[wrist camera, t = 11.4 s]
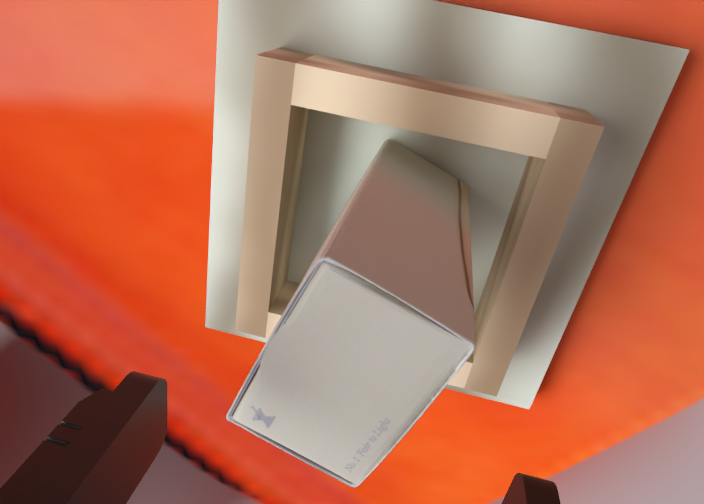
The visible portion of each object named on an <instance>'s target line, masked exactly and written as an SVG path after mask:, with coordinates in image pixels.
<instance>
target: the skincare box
mask: <svg viewBox="0 0 704 504" xmlns="http://www.w3.org/2000/svg"><path fill="white" fill-rule="evenodd" d="M475 347H476V341H475V320H474V298H473V274H472V255H471V229H470V208H469V189H468V186H467V185H465V184H464V183H462V182H461V181H459V180H458V179H456V178H454V177H453V176H451V175H450V174H448V173H446V172H445V171H443V170H442V169H440V168H438V167H437V166H435V165H434V164H432V163H430V162H429V161H427V160H425V159H424V158H422V157H420V156H419V155H417V154H415V153H414V152H412V151H410V150H409V149H407V148H405V147H404V146H402V145H400V144H399V143H397V142H395V141H393V140H391V139H387V140H386V141H384V143H383V144H382V146H381V147H380V149H379V151H378V152H377V154H376V155H375V157H374V159H373V160H372V162H371V164H370V165H369V167H368V168H367V170H366V172H365V173H364V175H363V177H362V178H361V180H360V182H359V183H358V185H357V187H356V188H355V190H354V192H353V193H352V195H351V197H350V198H349V200H348V202H347V203H346V205H345V207H344V209H343V210H342V212H341V214H340V215H339V217H338V219H337V221H336V222H335V224H334V226H333V228H332V229H331V231H330V233H329V235H328V236H327V238H326V240H325V242H324V243H323V245H322V247H321V248H320V250H319V252H318V253H317V255H316V257H315V258H314V260H313V262H312V264H311V265H310V267H309V269H308V271H307V272H306V274H305V276H304V278H303V280H302V281H301V283H300V285H299V287H298V288H297V290H296V292H295V294H294V295H293V297H292V299H291V301H290V302H289V304H288V306H287V307H286V309H285V311H284V313H283V314H282V316H281V318H280V319H279V321H278V323H277V325H276V326H275V328H274V330H273V332H272V333H271V335H270V337H269V338H268V340H267V342H266V344H265V346H264V347H263V349H262V351H261V353H260V355H259V356H258V358H257V360H256V362H255V363H254V365H253V367H252V369H251V371H250V372H249V374H248V376H247V378H246V380H245V382H244V384H243V386H242V387H241V389H240V391H239V393H238V395H237V397H236V399H235V400H234V402H233V404H232V406H231V408H230V409H229V411H228V413H227V416H226V418H227V420H228V421H230V422H232V423H234V424H236V425H238V426H240V427H242V428H244V429H245V430H247V431H249V432H251V433H253V434H254V435H256V436H258V437H260V438H262V439H264V440H265V441H267V442H269V443H271V444H273V445H274V446H276V447H278V448H280V449H282V450H283V451H285V452H287V453H289V454H291V455H293V456H294V457H297V458H298V459H300V460H302V461H304V462H305V463H307V464H309V465H311V466H313V467H315V468H316V469H319V470H321V471H323V472H325V473H326V474H328V475H330V476H332V477H334V478H336V479H338V480H339V481H341V482H343V483H345V484H347V485H349V486H351V487H357V486H358V485H360V484H361V483H362V482H363V481H364V480H365V479H366V478H367V477H368V476H369V475H370V473H371V472H372V471H373V470H374V469H375V468H376V467H377V466H378V465H379V464H380V463H381V462H382V461H383V459H384V458H385V457H386V456H387V455H388V454H389V453H390V452H391V450H392V449H393V448H394V447H395V446H396V445H397V444H398V442H399V441H400V440H401V439H402V438H403V437H404V436H405V434H406V433H407V432H408V431H409V430H410V429H411V427H412V426H413V425H414V424H415V422H416V421H417V420H418V419H419V418H420V417H421V416H422V415H423V413H424V412H425V411H426V410H427V408H428V407H429V406H430V405H431V403H432V402H433V401H434V400H435V399H436V397H437V396H438V395H439V394H440V393H441V391H442V390H443V389H444V388H445V386H446V385H447V384H448V383H449V381H450V380H451V379H452V378H453V377H454V375H455V374H456V373H457V372H458V371H459V369H460V368H461V367H462V366H463V364H464V363H465V362H466V360H467V359H468V358H469V356H470V355H471V354H472V353H473V351H474V350H475Z"/></svg>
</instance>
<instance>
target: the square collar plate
mask: <svg viewBox="0 0 704 504" xmlns="http://www.w3.org/2000/svg"><path fill="white" fill-rule="evenodd" d="M689 51H690V50H689V49H685V48H680V47H676V46H671V45H666V44H660V43H655V42H650V41H645V40H640V39H634V38H629V37H624V36H619V35H613V34H608V33H603V32H598V31H593V30H587V29H582V28H577V27H572V26H567V25H561V24H556V23H551V22H546V21H540V20H535V19H530V18H525V17H520V16H514V15H509V14H504V13H499V12H494V11H488V10H483V9H478V8H473V7H467V6H462V5H457V4H452V3H447V2H441V1H436V0H219V7H218V31H217V55H216V80H215V104H214V129H213V153H212V177H211V202H210V226H209V251H208V275H207V299H206V324H205V327H207V328H211V329H215V330H219V331H223V332H227V333H231V334H235V335H239V336H243V337H247V338H251V339H254V340H258V341H262V342H267V340H268V338H269V337H270V335H271V333H272V332H273V330H274V328H275V326H276V325H277V323H278V321H279V319H280V318H281V316H282V314H283V313H284V311H285V309H286V307H287V306H288V304H289V302H290V301H291V299H292V297H293V295H294V294H295V292H296V290H297V288H298V287H299V285H300V283H301V281H302V280H303V278H304V276H305V274H306V272H307V271H308V269H309V267H310V265H311V264H312V262H313V260H314V258H315V257H316V255H317V253H318V252H319V250H320V248H321V247H322V245H323V243H324V242H325V240H326V238H327V236H328V235H329V233H330V231H331V229H332V228H333V226H334V224H335V222H336V221H337V219H338V217H339V215H340V214H341V212H342V210H343V209H344V207H345V205H346V203H347V202H348V200H349V198H350V197H351V195H352V193H353V192H354V190H355V188H356V187H357V185H358V183H359V182H360V180H361V178H362V177H363V175H364V173H365V172H366V170H367V168H368V167H369V165H370V164H371V162H372V160H373V159H374V157H375V155H376V154H377V152H378V151H379V149H380V147H381V146H382V144H383V143H384V141H386V140H387V139H391V140H393V141H395V142H397V143H399V144H400V145H402V146H404V147H405V148H407V149H409V150H410V151H412V152H414V153H415V154H417V155H419V156H420V157H422V158H424V159H425V160H427V161H429V162H430V163H432V164H434V165H435V166H437V167H438V168H440V169H442V170H443V171H445V172H446V173H448V174H450V175H451V176H453V177H454V178H456V179H458V180H459V181H461V182H462V183H464V184H465V185H467V186H468V189H469V208H470V229H471V255H472V274H473V298H474V320H475V341H476V347H475V350H474V351H473V353H472V354H471V355H470V356H469V358H468V359H467V360H466V362H465V363H464V364H463V366H462V367H461V368H460V369H459V371H458V372H457V373H456V374H455V375H454V377H453V378H452V379H451V380H450V381H449V383H448V384H447V385H446V386H445V388H447V389H451V390H455V391H459V392H463V393H467V394H471V395H475V396H479V397H482V398H486V399H490V400H494V401H498V402H502V403H506V404H510V405H514V406H518V407H522V408H526V409H530V407H531V404H532V402H533V400H534V398H535V396H536V393H537V391H538V389H539V387H540V384H541V382H542V380H543V378H544V375H545V373H546V371H547V369H548V366H549V364H550V362H551V360H552V357H553V355H554V353H555V351H556V349H557V346H558V344H559V342H560V340H561V337H562V335H563V333H564V331H565V328H566V326H567V324H568V322H569V319H570V317H571V315H572V313H573V310H574V308H575V306H576V304H577V302H578V299H579V297H580V295H581V293H582V290H583V288H584V286H585V284H586V281H587V279H588V277H589V275H590V272H591V270H592V268H593V266H594V263H595V261H596V259H597V257H598V254H599V252H600V250H601V248H602V246H603V243H604V241H605V239H606V237H607V234H608V232H609V230H610V228H611V225H612V223H613V221H614V219H615V216H616V214H617V212H618V210H619V207H620V205H621V203H622V201H623V199H624V196H625V194H626V192H627V190H628V187H629V185H630V183H631V181H632V178H633V176H634V174H635V172H636V169H637V167H638V165H639V163H640V160H641V158H642V156H643V154H644V152H645V149H646V147H647V145H648V143H649V140H650V138H651V136H652V134H653V131H654V129H655V127H656V125H657V122H658V120H659V118H660V116H661V113H662V111H663V109H664V107H665V105H666V102H667V100H668V98H669V96H670V93H671V91H672V89H673V87H674V84H675V82H676V80H677V78H678V75H679V73H680V71H681V69H682V66H683V64H684V62H685V60H686V58H687V55H688V53H689Z"/></svg>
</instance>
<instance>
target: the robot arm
mask: <svg viewBox="0 0 704 504" xmlns="http://www.w3.org/2000/svg"><path fill="white" fill-rule="evenodd" d="M166 431H167V382H166V380H165V379H162V378H158V377H154V376H150V375H146V374H143V373H139V372H135V371H133V372H131V373H129V374H128V375H127V376H126V377H125V378H124V379H123V381H122V382H121V383H120V384H119V385H118V386H117V388H116V389H115V390H114V391H110V390H107V389H103V388H102V389H100V390H98V391H97V392H95V393H93V394H92V395H90V396H88V397H87V398H85V399H83V400H82V401H80V402H78V403H77V405H76V406H75V407H74V408H73V409H72V410H71V411H70V412H69V413H68V415H67V416H66V417H65V418H64V419H63V420H62V422H61V424H60V425H58V426H57V427H56V428H55V429H54V430H53V431H52V432H51V433H50V434H49V435H48V438H47V440H46V441H43V442H42V443H41V444H40V445H39V447H38V448H37V449H36V450H35V451H34V452H33V453H32V454H31V455H30V456H29V458H28V459H27V460H26V461H25V462H24V463H23V464H22V465H21V467H20V468H19V469H18V470H17V471H16V472H15V473H14V474H13V475H12V476H11V477H10V479H9V480H8V481H7V482H6V483H5V484H4V485H3V486H2V487H1V488H0V504H126V503H127V501H128V500H129V498H130V497H131V495H132V493H133V492H134V490H135V489H136V487H137V486H138V484H139V483H140V481H141V479H142V478H143V476H144V475H145V473H146V472H147V470H148V468H149V467H150V465H151V464H152V462H153V461H154V459H155V457H156V456H157V454H158V452H159V451H160V449H161V446H162V444H163V442H164V439H165V435H166ZM502 504H560V499H559V495H558V490H557V487H556V485H555V483H554V482H552V481H548V480H544V479H540V478H537V477H533V476H529V475H525V474H521V473H517V474H516V475H515V477H514V479H513V481H512V483H511V485H510V487H509V489H508V491H507V493H506V495H505V498H504V500H503V502H502Z"/></svg>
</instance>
